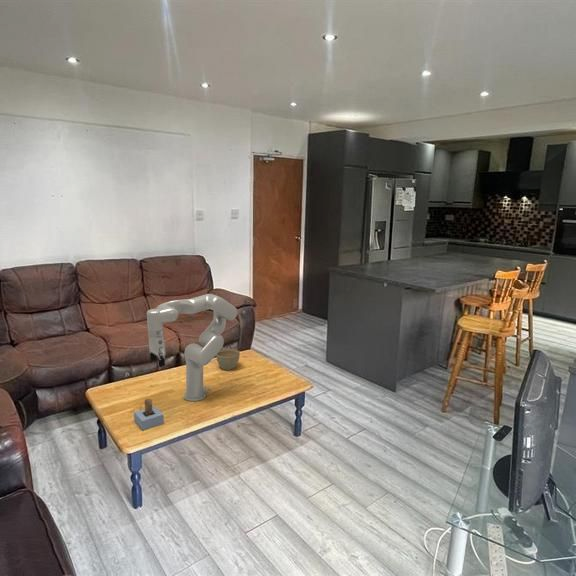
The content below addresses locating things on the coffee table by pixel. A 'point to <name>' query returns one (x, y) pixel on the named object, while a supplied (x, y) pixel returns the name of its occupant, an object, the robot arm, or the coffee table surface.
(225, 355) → the planter bowl
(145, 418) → the socket block
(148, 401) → the peg
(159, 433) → the coffee table surface
